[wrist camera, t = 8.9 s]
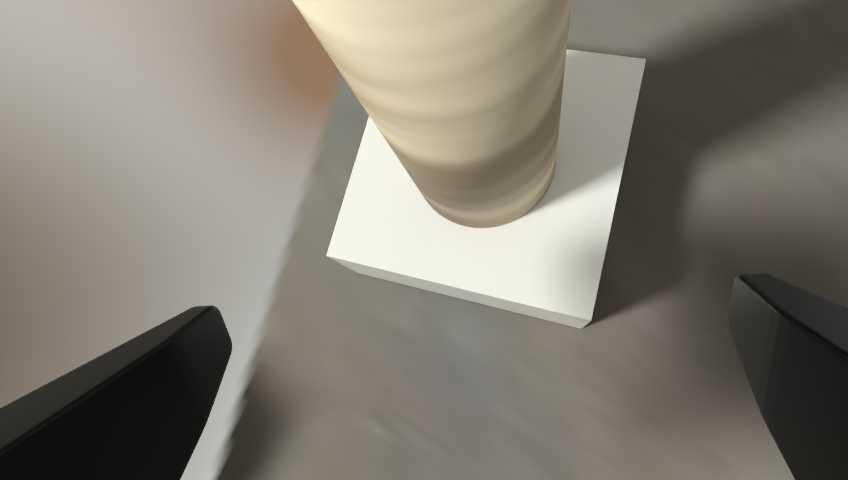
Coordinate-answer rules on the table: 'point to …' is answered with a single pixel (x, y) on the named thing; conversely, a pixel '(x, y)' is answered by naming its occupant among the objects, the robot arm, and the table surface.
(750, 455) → the table surface
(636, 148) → the table surface
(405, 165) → the salt mill
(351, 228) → the stoneware block
